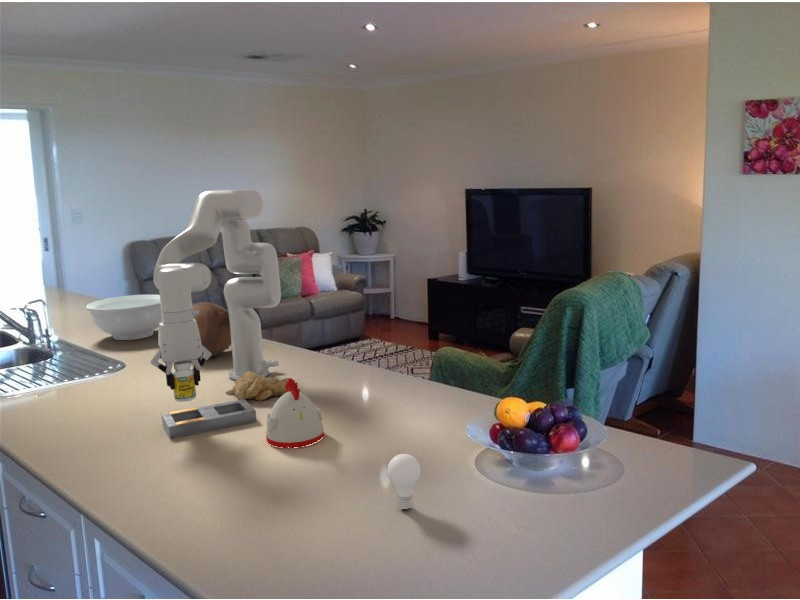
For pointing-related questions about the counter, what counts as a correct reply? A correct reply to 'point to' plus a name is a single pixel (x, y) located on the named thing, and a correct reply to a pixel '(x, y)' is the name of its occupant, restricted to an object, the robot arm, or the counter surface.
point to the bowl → (127, 316)
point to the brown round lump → (213, 327)
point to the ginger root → (257, 387)
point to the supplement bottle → (184, 382)
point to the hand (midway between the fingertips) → (184, 385)
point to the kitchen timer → (294, 420)
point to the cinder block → (208, 418)
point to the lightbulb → (404, 477)
